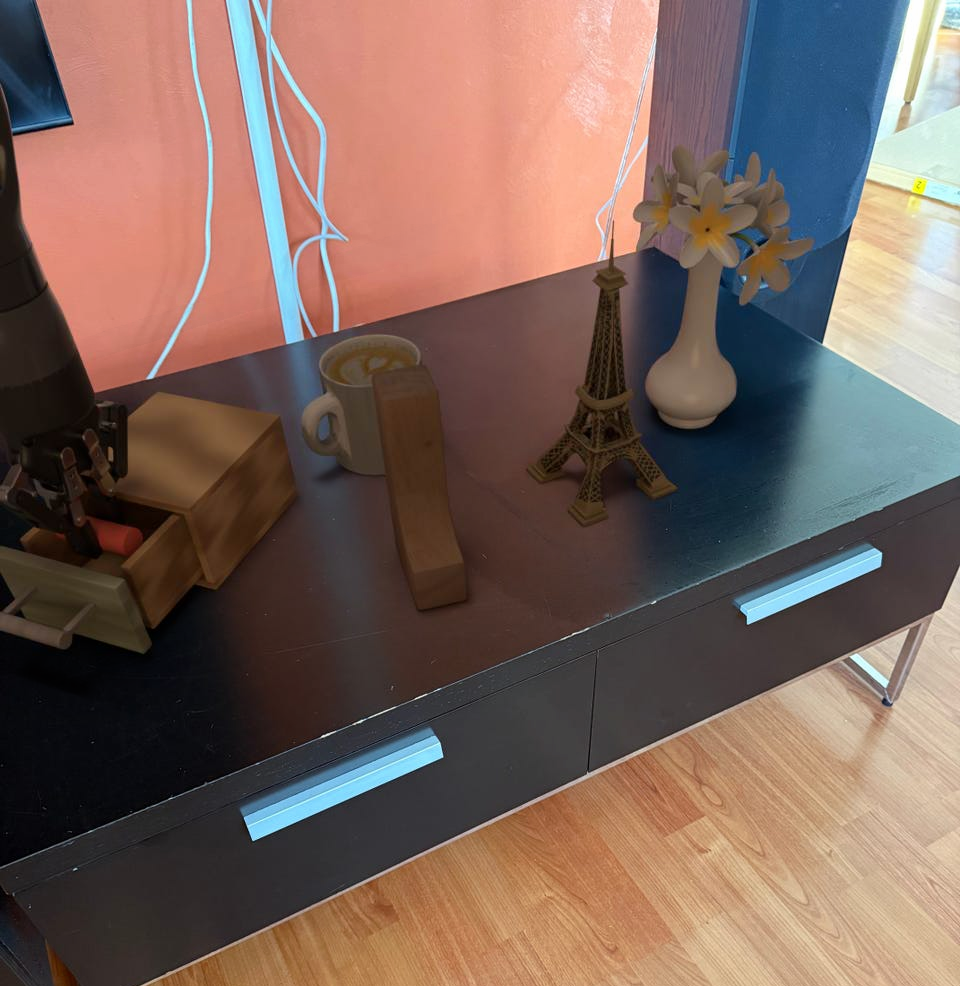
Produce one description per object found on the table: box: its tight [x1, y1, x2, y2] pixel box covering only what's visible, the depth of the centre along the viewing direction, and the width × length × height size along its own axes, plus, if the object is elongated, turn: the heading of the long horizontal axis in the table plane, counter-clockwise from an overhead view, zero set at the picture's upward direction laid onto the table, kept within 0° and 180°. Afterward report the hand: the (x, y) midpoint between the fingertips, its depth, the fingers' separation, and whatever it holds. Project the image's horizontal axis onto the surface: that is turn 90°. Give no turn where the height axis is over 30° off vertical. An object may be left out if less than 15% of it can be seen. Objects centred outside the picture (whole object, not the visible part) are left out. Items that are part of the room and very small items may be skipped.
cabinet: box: [81, 391, 299, 591], centre depth 88 cm, size 15×14×9 cm
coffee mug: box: [300, 333, 423, 476], centre depth 94 cm, size 13×10×10 cm
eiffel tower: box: [525, 220, 678, 528], centre depth 84 cm, size 11×11×25 cm
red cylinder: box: [56, 516, 143, 557], centre depth 78 cm, size 7×2×2 cm
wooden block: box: [372, 363, 468, 611], centre depth 78 cm, size 9×4×18 cm, turn 16°
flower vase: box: [632, 144, 815, 430], centre depth 91 cm, size 13×18×25 cm
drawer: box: [0, 490, 204, 655], centre depth 80 cm, size 18×12×7 cm
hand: (102, 543), depth 79 cm, fingers closed on red cylinder, 2 cm apart
